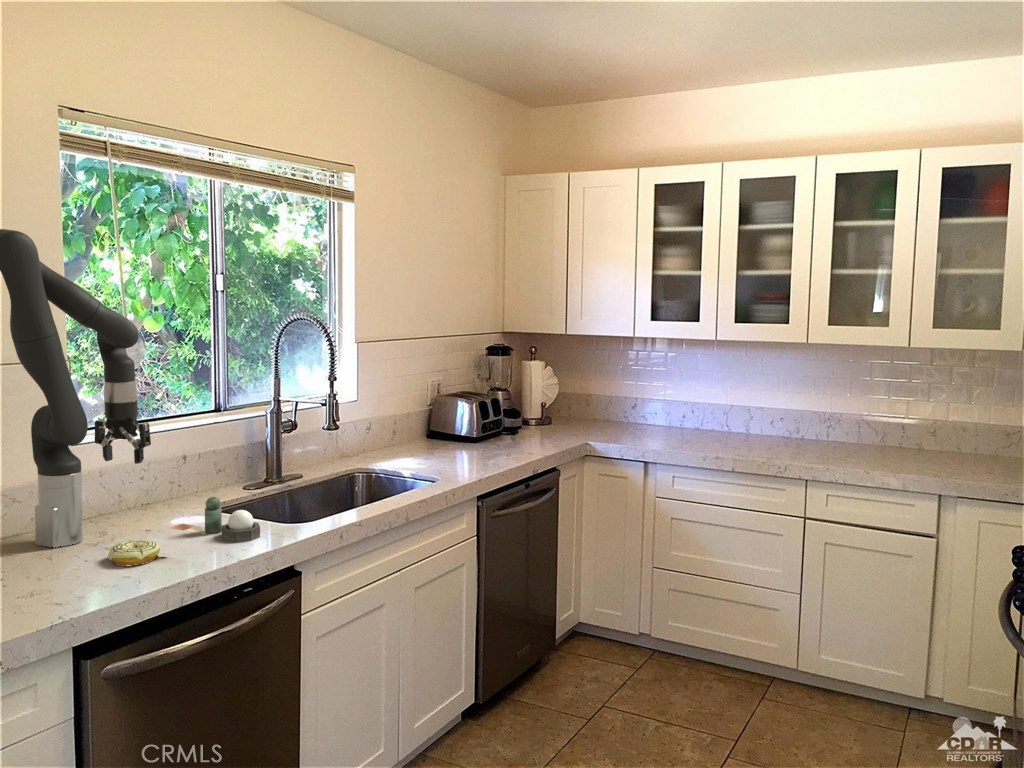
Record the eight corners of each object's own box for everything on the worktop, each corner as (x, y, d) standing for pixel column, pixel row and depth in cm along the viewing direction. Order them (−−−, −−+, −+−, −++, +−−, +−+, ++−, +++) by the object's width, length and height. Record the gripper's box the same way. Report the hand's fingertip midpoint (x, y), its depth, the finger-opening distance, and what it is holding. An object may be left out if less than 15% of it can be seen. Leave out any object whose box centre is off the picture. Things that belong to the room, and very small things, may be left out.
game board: (242, 549, 200) (242, 534, 200) (161, 535, 209) (161, 520, 209) (268, 538, 210) (268, 523, 209) (189, 525, 219) (189, 511, 218)
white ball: (242, 538, 203) (242, 514, 202) (222, 535, 205) (222, 511, 204) (258, 532, 208) (258, 509, 208) (239, 529, 210) (239, 506, 210)
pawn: (214, 535, 207) (214, 499, 206) (201, 532, 208) (201, 497, 207) (225, 530, 211) (224, 496, 210) (212, 528, 212) (212, 494, 211)
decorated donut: (100, 567, 185) (99, 550, 185) (122, 552, 196) (122, 536, 195) (147, 568, 185) (146, 552, 185) (166, 553, 196) (166, 538, 195)
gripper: (85, 399, 206) (88, 463, 209) (136, 403, 203) (139, 467, 206) (105, 394, 213) (108, 456, 216) (155, 398, 211) (157, 460, 213)
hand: (123, 461), depth 211 cm, fingers open, 8 cm apart
